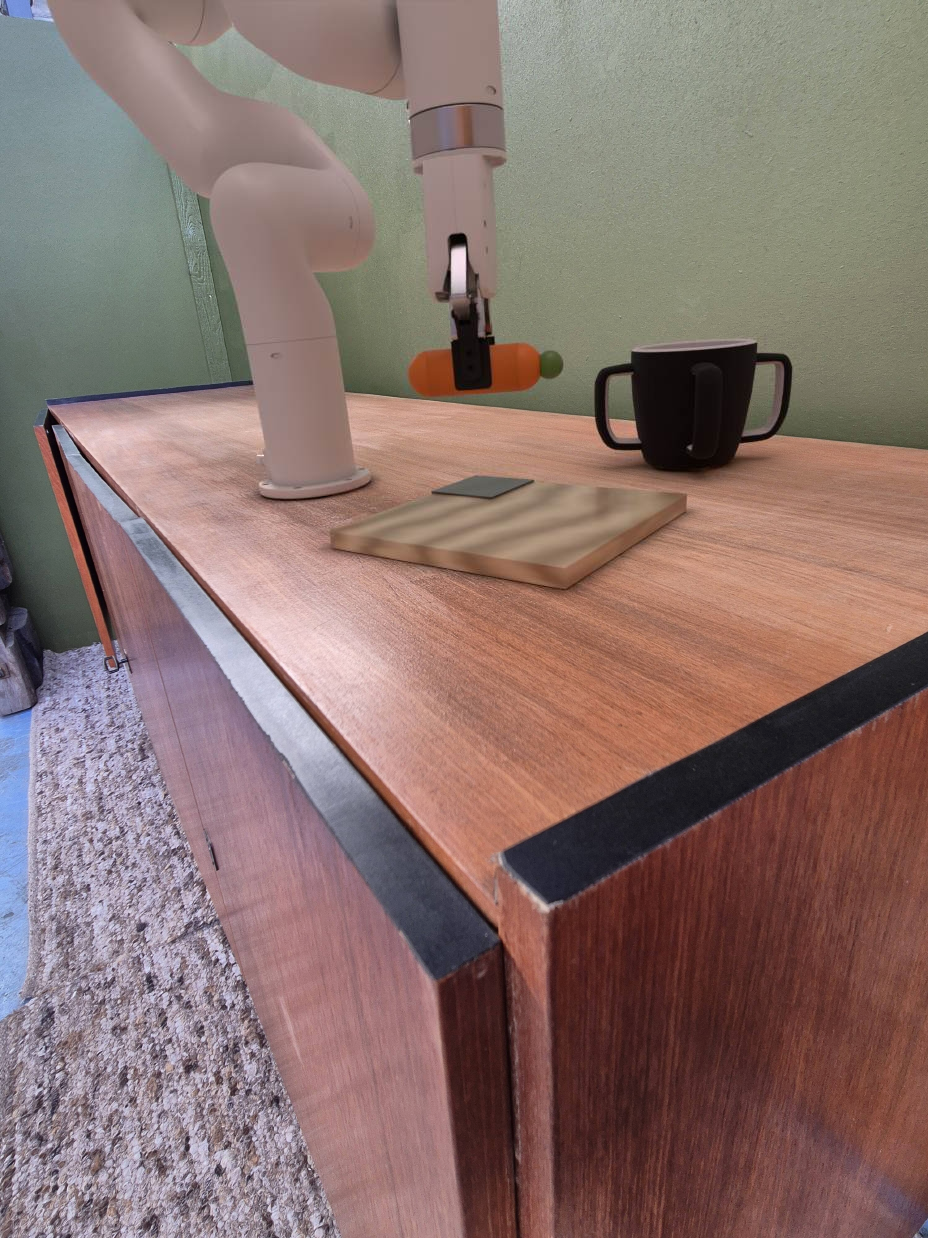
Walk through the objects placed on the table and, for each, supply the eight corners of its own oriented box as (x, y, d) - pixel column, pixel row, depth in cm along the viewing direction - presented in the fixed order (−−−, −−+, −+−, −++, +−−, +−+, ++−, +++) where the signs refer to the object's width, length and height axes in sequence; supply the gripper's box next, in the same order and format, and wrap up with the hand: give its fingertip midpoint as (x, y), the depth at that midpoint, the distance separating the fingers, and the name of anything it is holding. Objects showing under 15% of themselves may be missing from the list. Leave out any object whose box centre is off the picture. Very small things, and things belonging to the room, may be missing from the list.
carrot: (408, 406, 64) (401, 362, 61) (415, 387, 67) (408, 345, 64) (564, 395, 62) (562, 349, 59) (564, 376, 65) (562, 331, 62)
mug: (682, 443, 87) (686, 337, 82) (803, 458, 74) (815, 334, 69) (580, 467, 79) (578, 352, 74) (694, 488, 66) (700, 351, 62)
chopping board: (331, 548, 58) (328, 528, 58) (476, 491, 73) (475, 475, 72) (565, 590, 45) (564, 564, 45) (686, 511, 60) (687, 491, 59)
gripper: (430, 169, 65) (450, 381, 72) (387, 127, 49) (418, 401, 57) (513, 159, 63) (524, 374, 71) (495, 112, 48) (512, 393, 55)
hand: (476, 384), depth 63 cm, fingers closed on carrot, 4 cm apart
